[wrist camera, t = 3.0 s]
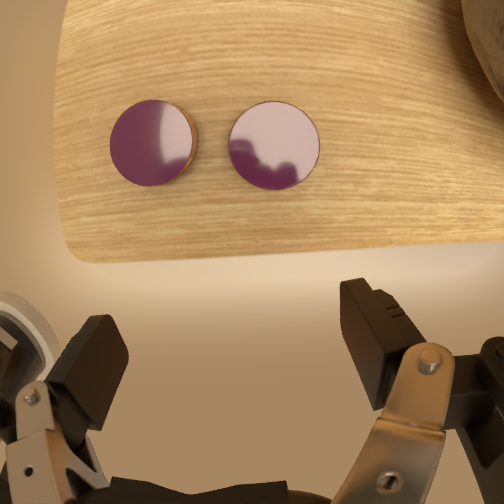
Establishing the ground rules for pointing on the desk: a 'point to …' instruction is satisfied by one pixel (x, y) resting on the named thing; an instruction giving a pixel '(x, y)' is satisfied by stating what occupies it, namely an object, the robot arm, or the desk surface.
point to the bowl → (487, 38)
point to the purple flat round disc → (153, 142)
